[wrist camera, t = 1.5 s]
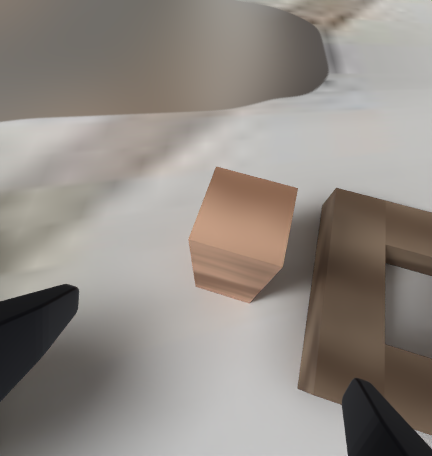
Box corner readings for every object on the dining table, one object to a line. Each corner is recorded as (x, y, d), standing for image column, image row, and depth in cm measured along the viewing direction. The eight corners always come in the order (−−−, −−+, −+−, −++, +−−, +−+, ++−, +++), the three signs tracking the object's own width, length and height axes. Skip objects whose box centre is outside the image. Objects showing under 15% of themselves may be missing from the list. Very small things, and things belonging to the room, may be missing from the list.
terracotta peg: (249, 303, 21) (282, 266, 12) (195, 286, 21) (188, 239, 12) (261, 252, 23) (297, 188, 14) (212, 238, 23) (216, 166, 14)
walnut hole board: (537, 470, 17) (601, 492, 14) (297, 388, 18) (313, 395, 16) (494, 251, 24) (532, 238, 21) (322, 205, 25) (336, 187, 22)
